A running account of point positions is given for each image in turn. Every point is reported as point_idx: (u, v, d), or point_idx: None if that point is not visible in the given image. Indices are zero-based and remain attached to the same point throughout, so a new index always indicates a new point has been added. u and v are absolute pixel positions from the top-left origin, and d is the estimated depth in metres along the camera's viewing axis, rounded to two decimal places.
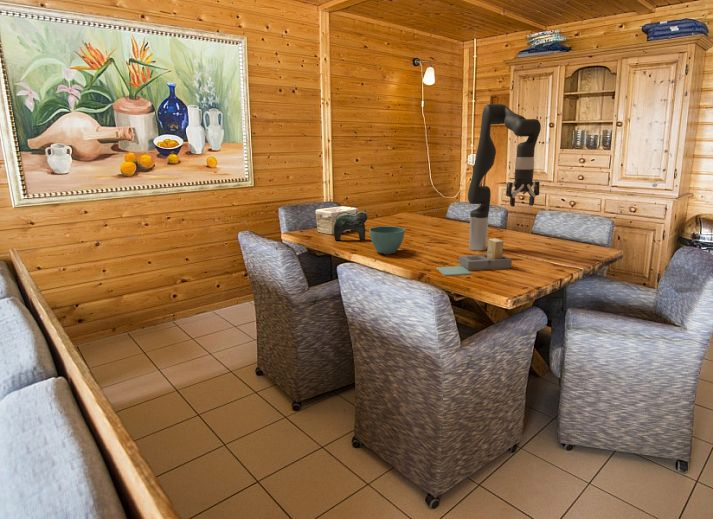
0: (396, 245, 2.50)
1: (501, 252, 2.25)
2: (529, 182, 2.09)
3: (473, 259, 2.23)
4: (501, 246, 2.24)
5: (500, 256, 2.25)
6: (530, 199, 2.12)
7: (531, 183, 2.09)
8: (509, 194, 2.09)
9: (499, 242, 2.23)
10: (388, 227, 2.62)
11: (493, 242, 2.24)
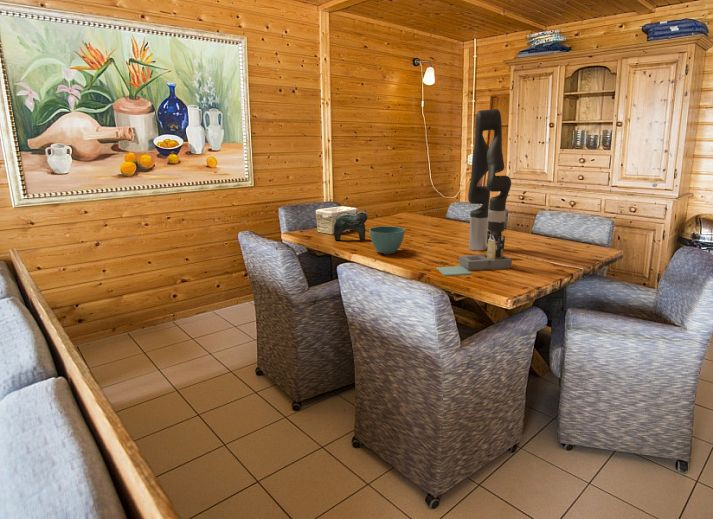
0: (396, 245, 2.50)
1: (501, 252, 2.25)
2: None
3: (473, 259, 2.23)
4: None
5: None
6: None
7: None
8: None
9: None
10: (388, 227, 2.62)
11: (493, 242, 2.24)
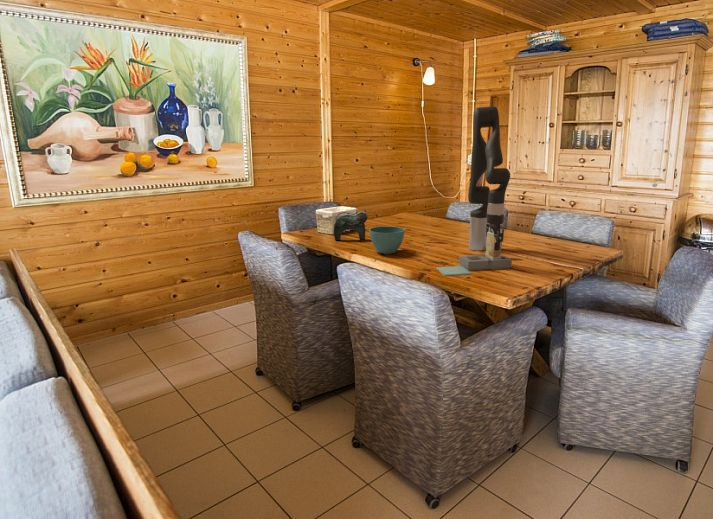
0: (396, 245, 2.50)
1: (500, 245, 2.24)
2: None
3: (473, 259, 2.23)
4: None
5: None
6: None
7: None
8: None
9: None
10: (388, 227, 2.62)
11: (492, 235, 2.23)
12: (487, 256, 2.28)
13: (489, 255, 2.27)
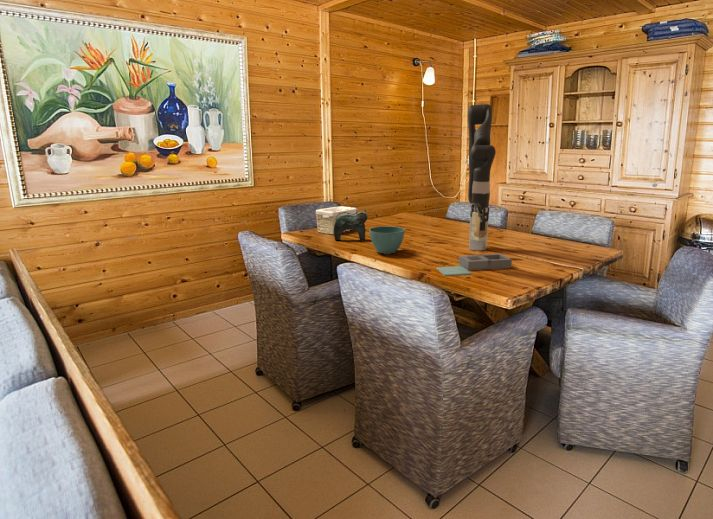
0: (396, 245, 2.50)
1: (486, 225, 2.17)
2: None
3: (473, 259, 2.23)
4: None
5: (485, 229, 2.17)
6: None
7: None
8: None
9: None
10: (388, 227, 2.62)
11: (477, 215, 2.16)
12: (472, 237, 2.21)
13: (474, 236, 2.20)
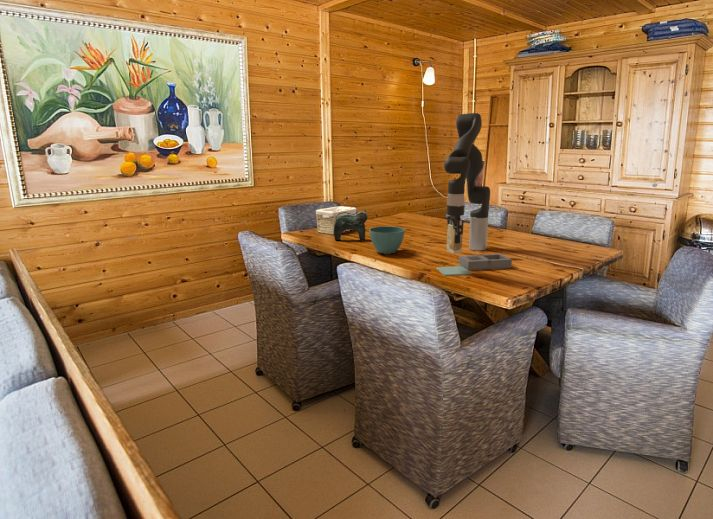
0: (396, 245, 2.50)
1: (461, 238, 2.14)
2: None
3: (473, 259, 2.23)
4: None
5: (460, 242, 2.14)
6: None
7: None
8: None
9: None
10: (388, 227, 2.62)
11: (452, 227, 2.13)
12: (448, 249, 2.18)
13: (449, 248, 2.16)
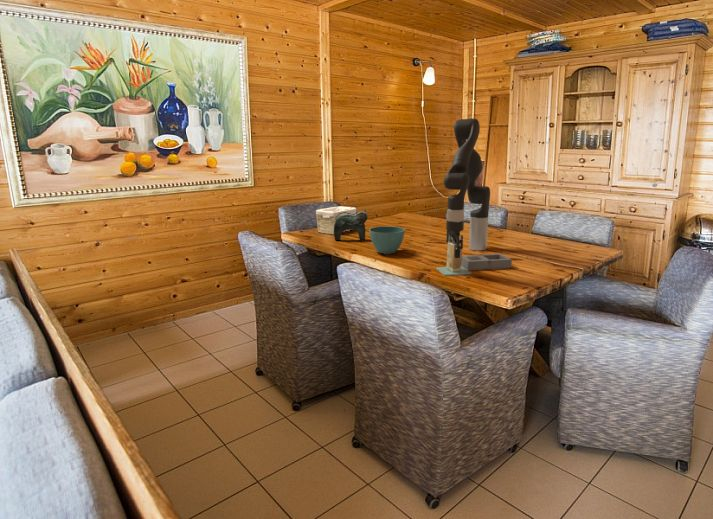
0: (396, 245, 2.50)
1: (460, 256, 2.15)
2: None
3: (473, 259, 2.23)
4: (460, 250, 2.14)
5: (459, 260, 2.16)
6: None
7: None
8: None
9: None
10: (388, 227, 2.62)
11: (452, 246, 2.15)
12: (448, 267, 2.20)
13: (449, 266, 2.18)
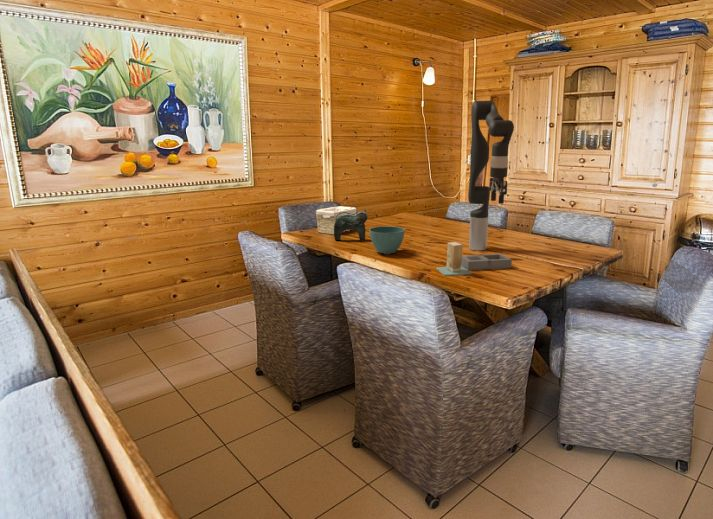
0: (396, 245, 2.50)
1: (460, 256, 2.15)
2: None
3: (473, 259, 2.23)
4: (460, 250, 2.14)
5: (459, 260, 2.16)
6: (493, 195, 2.28)
7: None
8: None
9: (458, 246, 2.14)
10: (388, 227, 2.62)
11: (452, 246, 2.15)
12: (448, 267, 2.20)
13: (449, 266, 2.18)
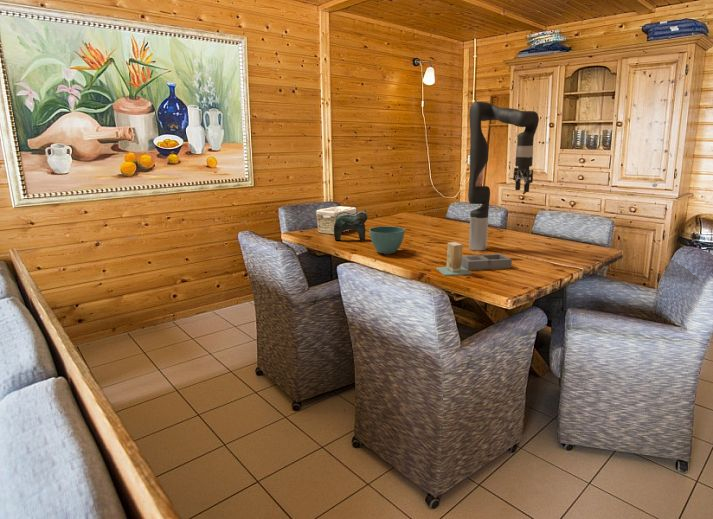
0: (396, 245, 2.50)
1: (460, 256, 2.15)
2: None
3: (473, 259, 2.23)
4: (460, 250, 2.14)
5: (459, 260, 2.16)
6: (518, 184, 2.35)
7: None
8: None
9: (458, 246, 2.14)
10: (388, 227, 2.62)
11: (452, 246, 2.15)
12: (448, 267, 2.20)
13: (449, 266, 2.18)
